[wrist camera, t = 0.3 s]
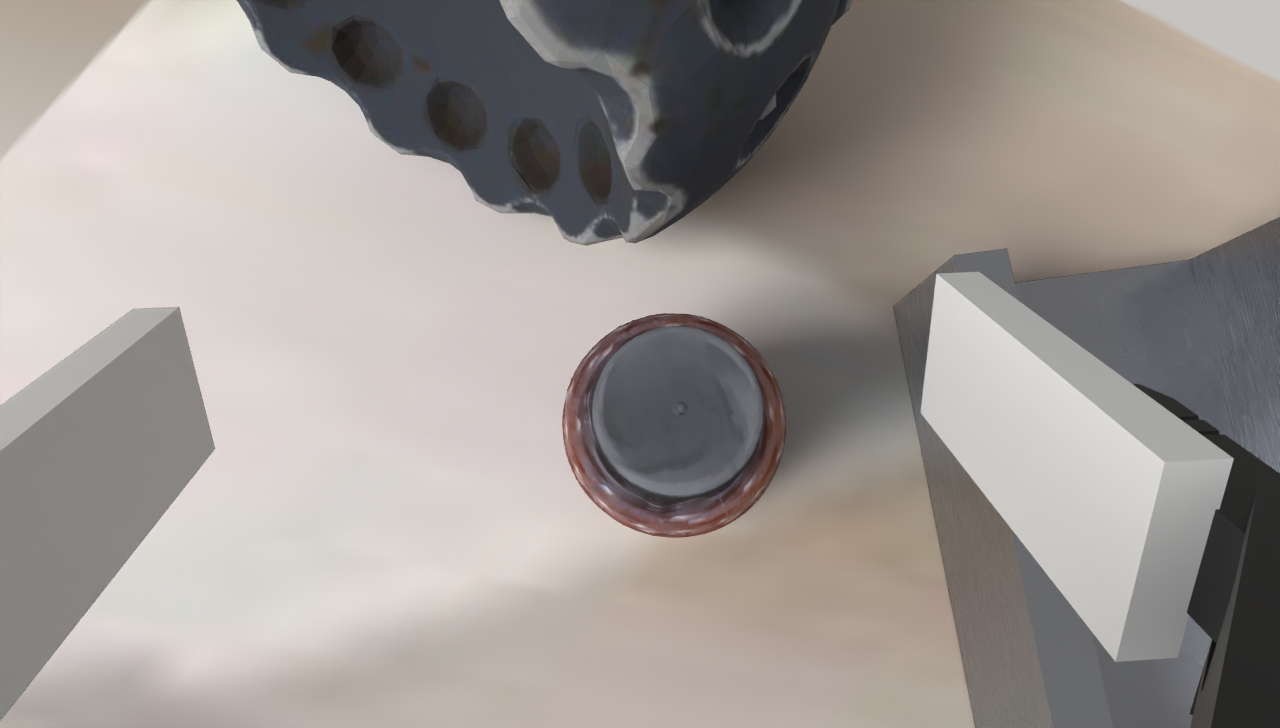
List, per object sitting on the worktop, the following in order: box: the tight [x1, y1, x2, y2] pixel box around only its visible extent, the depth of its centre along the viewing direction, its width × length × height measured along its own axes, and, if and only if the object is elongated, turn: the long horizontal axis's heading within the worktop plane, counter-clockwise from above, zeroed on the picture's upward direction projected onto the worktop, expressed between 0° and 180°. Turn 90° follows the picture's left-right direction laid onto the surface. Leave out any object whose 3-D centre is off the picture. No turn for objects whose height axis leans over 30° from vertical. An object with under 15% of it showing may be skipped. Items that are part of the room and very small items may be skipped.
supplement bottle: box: [562, 313, 786, 538], centre depth 25 cm, size 6×6×11 cm
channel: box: [893, 217, 1280, 728], centre depth 28 cm, size 18×12×6 cm, turn 8°
